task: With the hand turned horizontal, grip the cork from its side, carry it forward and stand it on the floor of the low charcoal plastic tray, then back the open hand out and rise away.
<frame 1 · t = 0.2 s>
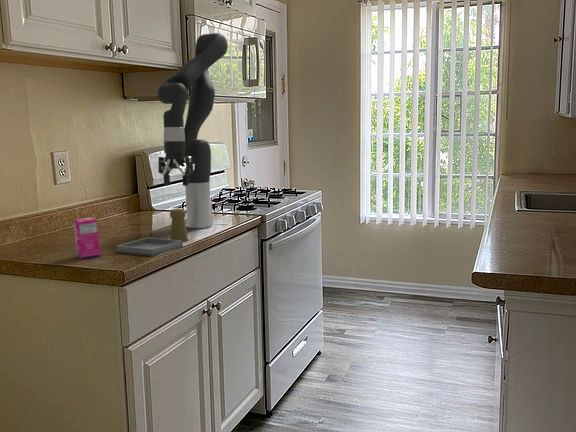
hand: (176, 185, 214), 17 cm above the counter, tool pointing down, fingers open, 8 cm apart
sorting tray: (150, 249, 190), on the counter
supplement box: (88, 257, 181), on the counter
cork: (179, 241, 202), on the counter
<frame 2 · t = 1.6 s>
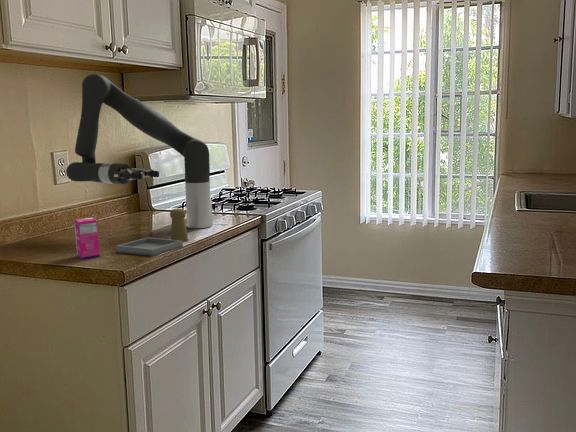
hand: (150, 175, 204), 22 cm above the counter, tool horizontal, fingers open, 8 cm apart
nothing on the counter moved.
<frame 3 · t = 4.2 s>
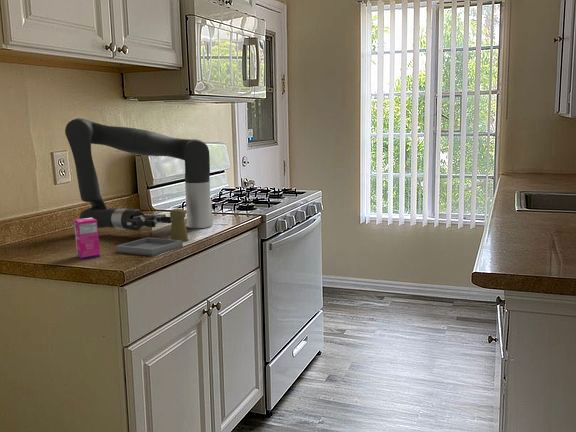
hand: (163, 222, 204), 6 cm above the counter, tool horizontal, fingers open, 8 cm apart
nothing on the counter moved.
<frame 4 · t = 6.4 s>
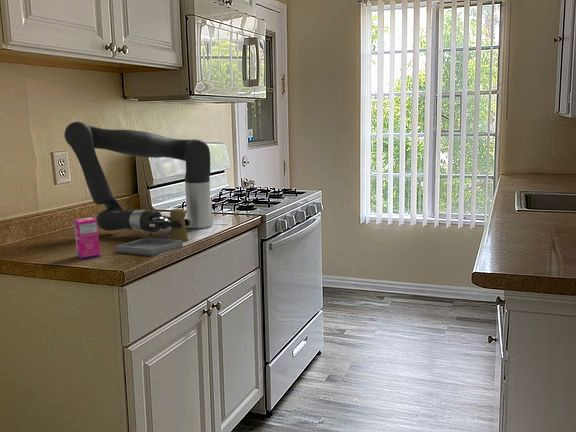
hand: (185, 223, 200), 6 cm above the counter, tool horizontal, fingers closed on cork, 4 cm apart
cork: (179, 241, 202), on the counter, touching gripper
everything else where it was.
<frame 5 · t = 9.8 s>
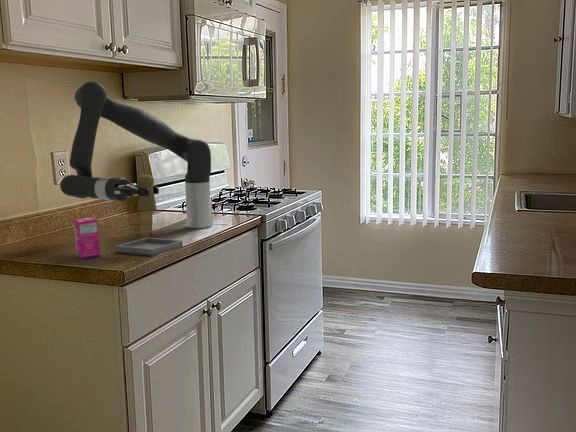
hand: (153, 191, 185), 19 cm above the counter, tool horizontal, fingers closed on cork, 4 cm apart
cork: (147, 210, 188), point 12 cm above the counter, touching gripper
everything else where it was.
when the fingers open (7 cm above the counter, at t = 13.0 s): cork stays where it is, resting on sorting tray.
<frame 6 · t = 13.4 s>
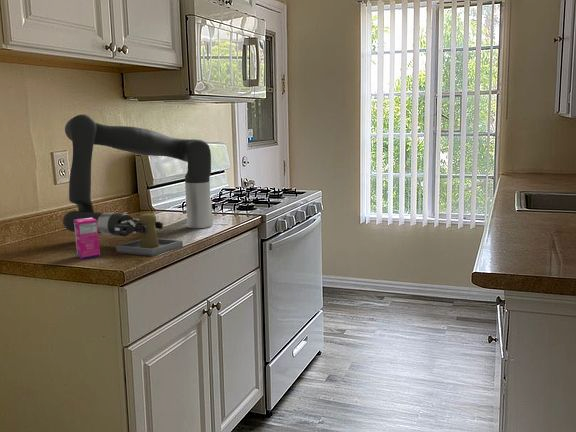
hand: (154, 227, 187), 7 cm above the counter, tool horizontal, fingers open, 7 cm apart
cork: (149, 248, 189), resting on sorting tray
everything else where it was.
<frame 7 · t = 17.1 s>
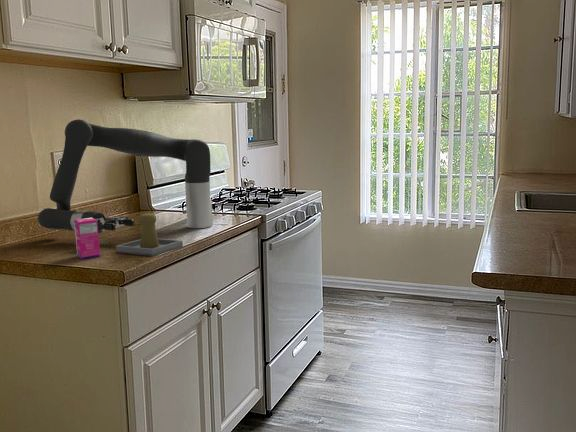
hand: (124, 224, 193), 7 cm above the counter, tool horizontal, fingers open, 8 cm apart
nothing on the counter moved.
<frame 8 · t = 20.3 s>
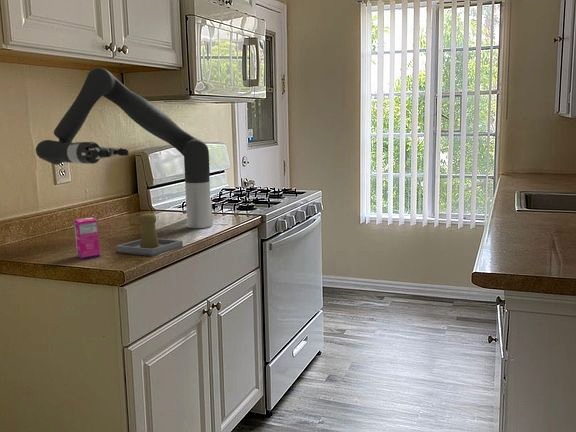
hand: (118, 153, 200), 30 cm above the counter, tool horizontal, fingers open, 8 cm apart
nothing on the counter moved.
at the end: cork inside the target area on the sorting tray (0.1 cm from its centre), point 0.3 cm above the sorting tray's base; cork tilted 0°; the gripper is holding nothing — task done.
